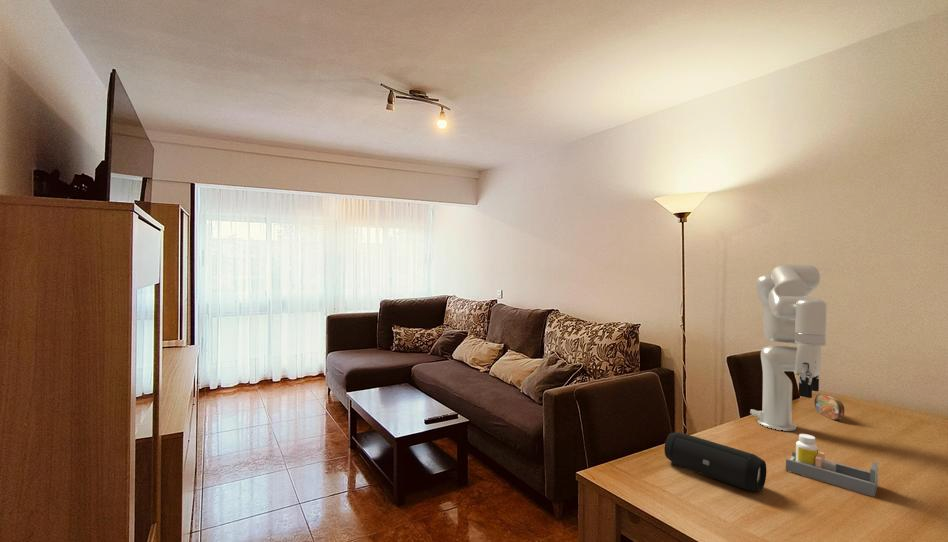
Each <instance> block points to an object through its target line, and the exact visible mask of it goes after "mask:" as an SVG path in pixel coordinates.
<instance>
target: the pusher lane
mask: <svg viewBox="0 0 948 542" xmlns="http://www.w3.org/2000/svg"><path fill="white" fill-rule="evenodd" d="M791 454H792V455H791V457H790V458H786V459H785V471H786V470H787V471H786V472H788V471H791V472H794V473H793V474H795V473H797V474H796V475H798V474H801V475H804V476H803V477H805V476H807V477H806V478H808V477H810V478H809V479H812V478H813V480H815V479H816V480H815V481H818V480H819V482H822V481H823V483H825V482H826V484H828V483H829V485H832V486H835V487H839V488H842V489H846V490H849V491H852V492H856V493H859V494H863V495H864V496H865V495H866V496H870V497H872V498H875V496H876V493H877V490H878V486H879V473H878V472H879V463H878V462H876V461H872V464H871V466H870V470H864V469H860V468H858V467H853V466H850V465H847V464H846V465H845V464H842V463H839V462H835V461H831V460H827V459H825V461H829V462H832V463H836V471H835V472H833V471H829V470H826V469H822V468H819V467H815V466H811V465H808V464H804V463H801V462H797V461H796V451H792V452H791ZM791 472H790V473H791ZM801 475H800V476H801Z"/></svg>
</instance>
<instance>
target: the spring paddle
mask: <svg viewBox="0 0 948 542" xmlns="http://www.w3.org/2000/svg"><path fill="white" fill-rule="evenodd" d="M825 457H826V454H825V452H822V451H818V455H817V457H816V460H815V467H819V468H822V469H826V470H829V471H833V472H835V471H836V463H837V462H835V463H832V462H833V461H831V462H829V461H830V460H828V461H825V460H826V459H825Z"/></svg>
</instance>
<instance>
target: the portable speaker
mask: <svg viewBox="0 0 948 542" xmlns="http://www.w3.org/2000/svg"><path fill="white" fill-rule="evenodd" d="M664 442H665V443H664V456H665V458H666V459H667V460H669V461H670V462H671V463H673V464H674V465H676V466H679V467H681V466H682V468H685V469H687V470H691V471H692V470H693V471H692V472H695V473H699V474H701V475H704V476H706V475H707V477H709V476H710V478H713V479H715V480H718V481H720V480H721V482H723V481H724V483H727V484H728V485H732V486H734V485H735V487H737V486H738V488H741V489H744V490H746V491H749V492H750V491H752V492H760V491H762V490H763V488H764V487H765V484H766V478H767V472H768V471H767V463H766V461H765V460H764V459H762V458H761V457H759V456H758V455H756V454H754V453H751V452H747V451H744V450H741V449H739V448H734V447H731V446H728V445H724V444H721V443H718V442H715V441H711V440H707V439H704V438H700V437H697V436H695V435H690V434H688V433H684V432H671V433H669V434H668V435H667V437H666V439H665V441H664Z"/></svg>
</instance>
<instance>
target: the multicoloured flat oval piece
mask: <svg viewBox="0 0 948 542" xmlns="http://www.w3.org/2000/svg"><path fill="white" fill-rule="evenodd" d="M814 408H815V410H816V412H817V413H819V414H820V415H823V416H824V417H827V418H828V419H831V420H838V421H840V420H842V419H843V418H845V417H844V416H845V406H844V403H843V402H842V401H841V400H840V399H838V398H835V397H832V396H829V395H827V394H821V393H818V394H817V395H815V398H814Z"/></svg>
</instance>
